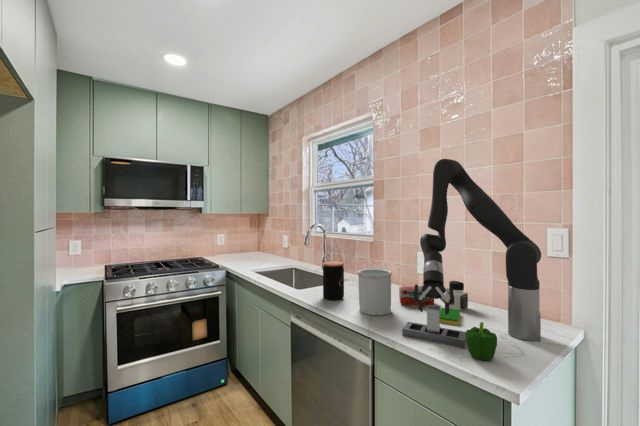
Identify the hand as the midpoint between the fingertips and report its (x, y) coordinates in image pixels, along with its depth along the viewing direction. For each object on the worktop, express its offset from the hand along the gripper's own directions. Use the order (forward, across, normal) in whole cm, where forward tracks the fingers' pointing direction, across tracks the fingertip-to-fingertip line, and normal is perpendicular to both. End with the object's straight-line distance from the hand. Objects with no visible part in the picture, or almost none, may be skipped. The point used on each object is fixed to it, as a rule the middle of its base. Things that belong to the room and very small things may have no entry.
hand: (433, 312), depth 110 cm
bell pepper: (+16, +13, -6) cm, 22 cm away
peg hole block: (+8, 0, +2) cm, 9 cm away
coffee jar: (-16, -47, +26) cm, 56 cm away
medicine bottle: (-18, +10, +28) cm, 35 cm away
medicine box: (-18, -7, +29) cm, 35 cm away
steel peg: (+8, 0, +1) cm, 8 cm away
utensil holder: (-7, -24, +17) cm, 31 cm away
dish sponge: (-7, +6, +18) cm, 20 cm away
